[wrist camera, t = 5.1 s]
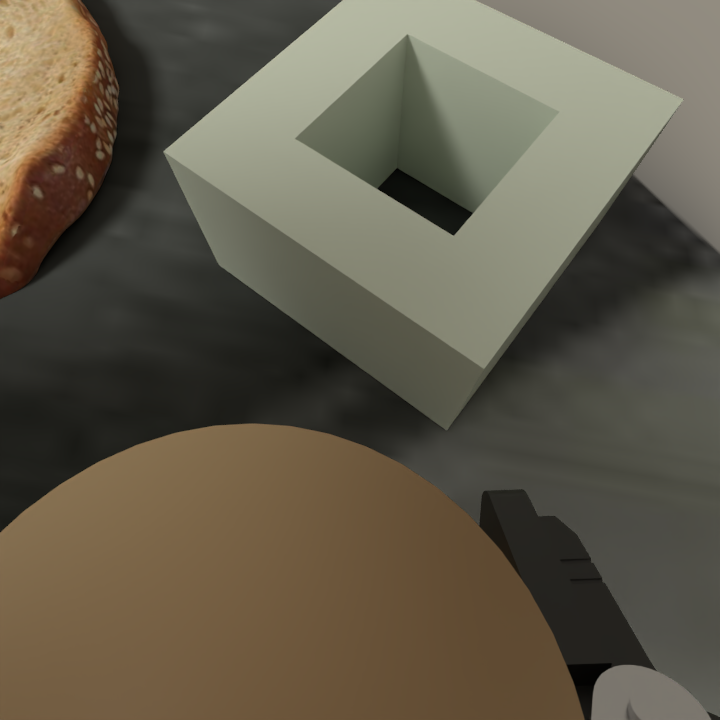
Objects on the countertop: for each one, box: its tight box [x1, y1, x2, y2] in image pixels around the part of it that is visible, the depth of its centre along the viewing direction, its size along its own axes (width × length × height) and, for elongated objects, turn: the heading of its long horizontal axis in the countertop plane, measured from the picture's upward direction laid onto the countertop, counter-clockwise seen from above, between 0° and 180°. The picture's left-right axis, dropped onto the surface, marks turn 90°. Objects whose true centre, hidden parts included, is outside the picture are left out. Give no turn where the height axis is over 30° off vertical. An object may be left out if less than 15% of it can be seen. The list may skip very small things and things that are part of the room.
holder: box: [163, 0, 684, 431], centre depth 18 cm, size 11×11×6 cm
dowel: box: [0, 423, 585, 720], centre depth 9 cm, size 4×4×14 cm
